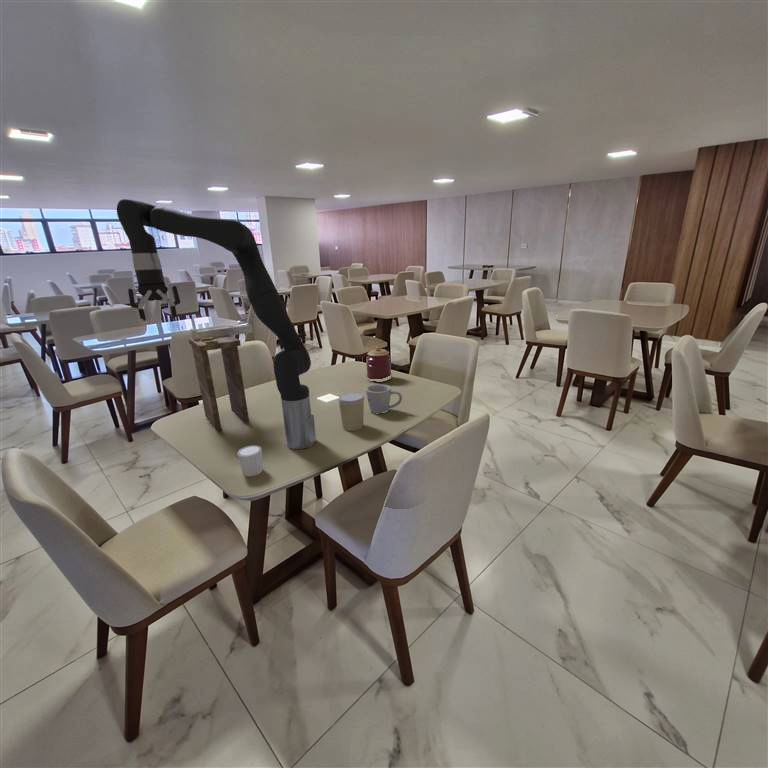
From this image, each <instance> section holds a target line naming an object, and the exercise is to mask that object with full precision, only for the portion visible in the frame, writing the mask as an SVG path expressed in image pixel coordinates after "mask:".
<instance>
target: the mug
mask: <svg viewBox="0 0 768 768" xmlns="http://www.w3.org/2000/svg"><path fill="white" fill-rule="evenodd" d="M365 392H366V396H367V397H366V398H367V401H368V406H369V412H370V413H371V412H374V413H382V412H385V411H387V410H388V409H389V410H390V409H393V408H396V407H397V406H399V405H400V404H401V403H402V401H403V396H402V394H401V393H400V391H395V390H393V391H392V387H391V386H390V385H387V384H381V383H380V384H372V385H369V386H367V387H365ZM393 394H394V395H398V396H399V399H398V400H397V402H395V403H394V404H391V405H390V401H391V395H393ZM374 413H373V414H374Z"/></svg>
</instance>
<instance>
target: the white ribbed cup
mask: <svg viewBox="0 0 768 768" xmlns="http://www.w3.org/2000/svg"><path fill="white" fill-rule="evenodd" d="M262 452H263V449H262V447H261V446H259V445H247V446H244V447H241V448H240V449H239V450H237V456H238V457H237V458H238V461H239V465H240V468H241V470H242V474H243V475H244V476H246V477H254V476H257V475H260V474H261V473H262V471H263V457H262V456H263V453H262Z"/></svg>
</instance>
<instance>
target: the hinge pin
mask: <svg viewBox="0 0 768 768" xmlns="http://www.w3.org/2000/svg"><path fill="white" fill-rule="evenodd" d="M190 332H191V338H193V340H201V339H202V338H210V337H213V338H216V337H223V336H237V335H243V334H251V333H253V326H252V324H242V325H235V326H226V327H218V328H211V329H210V328H209V329H201V330H200V329H199V330H197V329H196V328H195V327H193V328H190Z"/></svg>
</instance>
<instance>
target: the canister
mask: <svg viewBox="0 0 768 768" xmlns="http://www.w3.org/2000/svg"><path fill="white" fill-rule="evenodd" d="M366 354H367V356H366V357H365V359H366V378H367V377H368V378H369V379H383V378H386V377H388V376H390V375H391V376H392V363H391V358H392V357H391V355H390V352H389V351H388V350H386V349H383V348H381V346H376V347H375V348H373V349H371V350H369V351H368V352H367V353H366Z"/></svg>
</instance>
